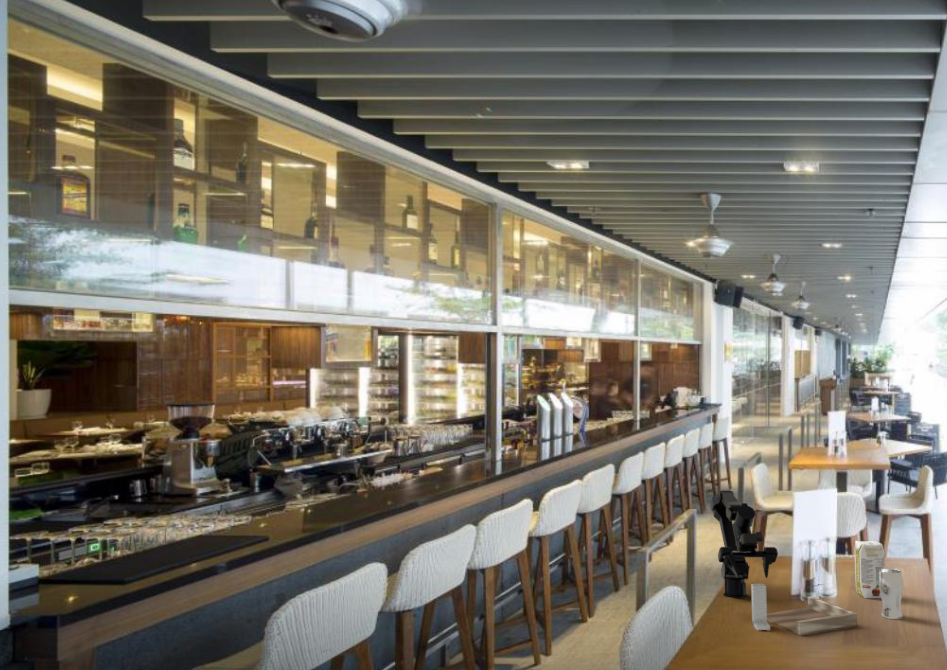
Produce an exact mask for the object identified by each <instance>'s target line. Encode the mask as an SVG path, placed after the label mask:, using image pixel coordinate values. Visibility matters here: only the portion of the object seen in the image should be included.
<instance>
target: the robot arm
mask: <svg viewBox="0 0 947 670" xmlns="http://www.w3.org/2000/svg"><path fill="white" fill-rule="evenodd" d="M709 507H710V510H711V511H712V515H713V517H714V519H715V520H717V521H718V522H719V525H720V526H719V527H720V531H721V536H722V540H723V546H720V547H719V549H718V553H717V558H718V559H717V560H718V562H719V563H722V564H721V569H720V574H721V575H720V576H721V577H722V579H723V580H724V593H722V596H725V597H730V598H731V597H732V598H736V599H741V598H743V597H745V596H746V595H748V593H747V583H746V582H745V581H746V580H749V575H750V574H749V573H750V565H749V562H747V560H746V558H761V559H762V561H763V562H762V567H763V573H764V576H765V578H766V579H768V577H769V569H770V565H773V563H775V562H776V561H777V557H778V555H779V553H778V552H779V551H778V549H777V548H776V547H775V546H764V547H763V550H761V551H760V550H756V549H758V545H757V544H759V543H762V542H763V541H764V537H763V533H762V531H756V532H755V533H752V531H751V528H752V527H753V523H754V521H755V517H756V511H755V509H754V508H753V507H751V506H750V505H748V503H747V502H740V501H739V500H738V499H737V498H736V496H735V494H734V491H733V490H730V489H729V490H718V493H717V494H716V495H714V496H712V497H711V499H710V505H709Z"/></svg>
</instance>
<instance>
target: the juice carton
mask: <svg viewBox="0 0 947 670" xmlns="http://www.w3.org/2000/svg"><path fill="white" fill-rule="evenodd" d="M885 565H886V564H885V550H884V545H883V544H882V543H881V542H880V541H876V540H868V541H865V540H864V541H863V540H855V542H854V572H855V575H854V576H855V590H856V593H857V594H858V595H859V596H860V597H862V598H863V599H882V598H881V593H880V588H879V569H881V568H886V566H885Z"/></svg>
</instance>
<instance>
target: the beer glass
mask: <svg viewBox="0 0 947 670" xmlns="http://www.w3.org/2000/svg"><path fill="white" fill-rule="evenodd" d="M902 575H903V572H902V570H900V569H897V568H892V567H890V568H889V567H885V568H881V569H879V588H880V593H881V598H880V599H881V601H882V602H881V603H882V609H881V614H880V615H881V617H883V618H884V619H888V620H902V619H903V615H902V609H901V604H902V603H901V602H902V598H903V597H902V596H903V588H904V587H903V585H904V584H903V581H904V580H903V576H902Z"/></svg>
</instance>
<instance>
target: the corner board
mask: <svg viewBox="0 0 947 670" xmlns="http://www.w3.org/2000/svg"><path fill="white" fill-rule="evenodd" d="M767 623H771V624H773V625H774V626H777V627H779V628H781V629H783V630H787V632H788V631H789V632H790V633H793V634H795V635H798V636H799V635H800V636H799V637H801V636H808V635H812V634H813V635H814V634H820V633H825V632H831V631H839V630H845V629H849V628H850V627H851V628H856V626H857V627H858V613H856V612H854V611H851V610H848V609H846V608H842V607H840V606H837V605H834V604H831V603H829V602H826V601H824V600H821V599H818V598H815V597H813V596H808V597H807V606H806V607H802V608H795V609H789V610H781V611H776V612H774V611H773V612H770V613H769V612H768V613H767Z"/></svg>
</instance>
